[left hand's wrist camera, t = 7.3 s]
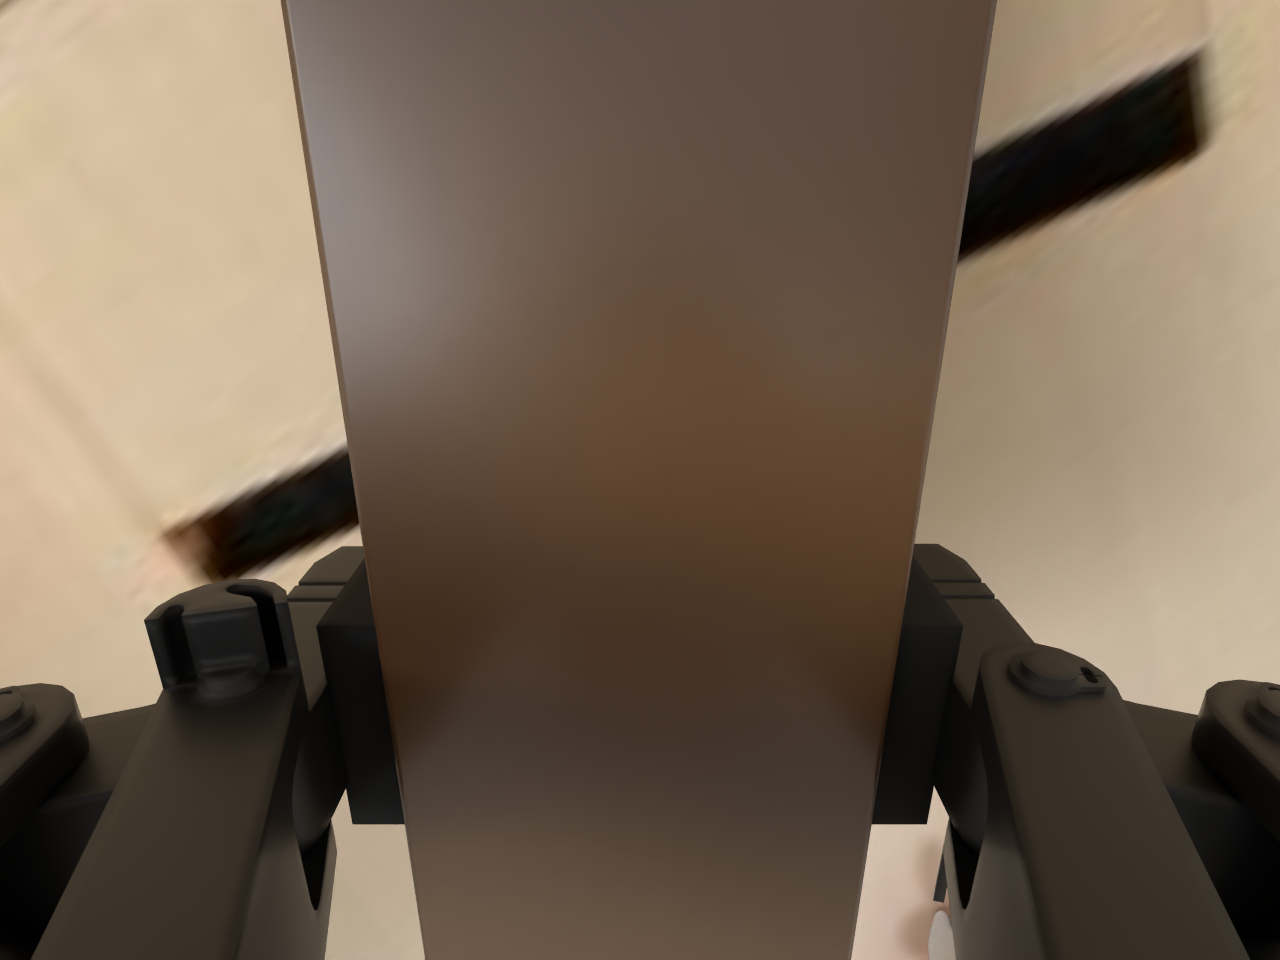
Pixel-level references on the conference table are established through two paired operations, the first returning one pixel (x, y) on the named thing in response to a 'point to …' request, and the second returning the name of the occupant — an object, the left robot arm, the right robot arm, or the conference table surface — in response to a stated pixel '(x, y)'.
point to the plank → (638, 439)
